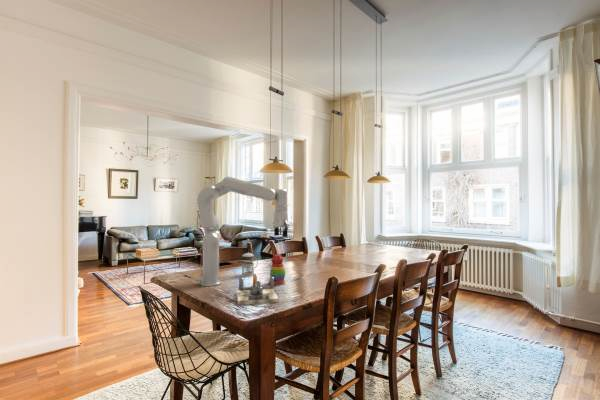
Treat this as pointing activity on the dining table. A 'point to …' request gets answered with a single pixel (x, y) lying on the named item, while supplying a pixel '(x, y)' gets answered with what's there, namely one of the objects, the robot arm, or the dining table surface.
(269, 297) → the stand
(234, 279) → the dining table surface
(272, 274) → the stacking bear
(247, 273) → the french press
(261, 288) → the capstan
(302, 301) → the dining table surface
